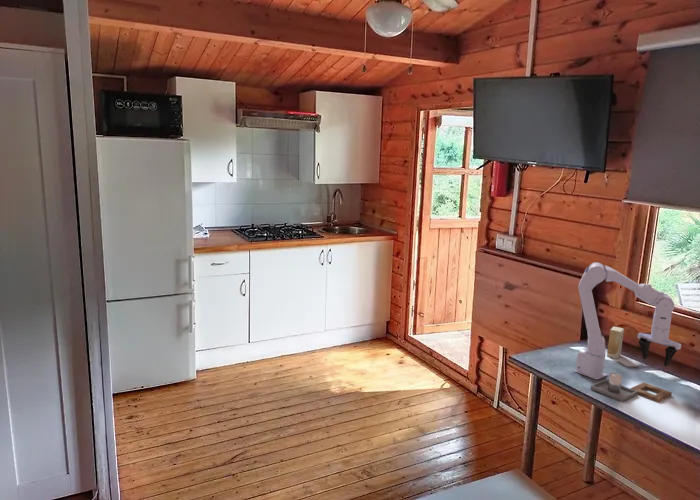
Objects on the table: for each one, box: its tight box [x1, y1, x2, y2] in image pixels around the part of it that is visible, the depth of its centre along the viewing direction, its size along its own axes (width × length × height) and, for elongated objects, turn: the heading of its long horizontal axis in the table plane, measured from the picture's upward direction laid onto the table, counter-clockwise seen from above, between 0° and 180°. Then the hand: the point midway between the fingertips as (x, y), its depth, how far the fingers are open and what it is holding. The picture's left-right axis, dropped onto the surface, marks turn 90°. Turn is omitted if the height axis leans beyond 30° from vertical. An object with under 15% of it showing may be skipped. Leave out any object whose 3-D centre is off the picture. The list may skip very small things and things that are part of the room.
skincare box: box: [606, 326, 625, 359], centre depth 228 cm, size 6×4×12 cm
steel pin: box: [608, 372, 623, 393], centre depth 191 cm, size 4×4×6 cm
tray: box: [590, 379, 638, 403], centre depth 192 cm, size 12×10×2 cm
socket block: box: [630, 381, 673, 403], centre depth 192 cm, size 10×10×1 cm
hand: (655, 361), depth 197 cm, fingers open, 7 cm apart
